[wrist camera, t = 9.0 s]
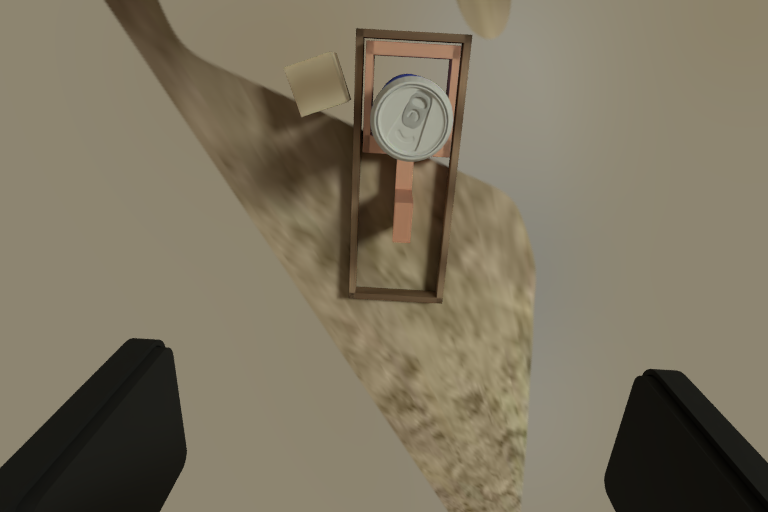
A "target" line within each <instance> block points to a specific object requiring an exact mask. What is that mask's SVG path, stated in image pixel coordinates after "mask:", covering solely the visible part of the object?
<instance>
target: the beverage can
mask: <svg viewBox="0 0 768 512" xmlns="http://www.w3.org/2000/svg"><path fill="white" fill-rule="evenodd" d="M370 124H371V130H372V134H373V136H374V139H375V141H376V142H377V144H378V145H379V147H380V148H381V149H382V150H383V151H384V152H385V153H387V154H388V155H389V156H391V157H393V158H395V159H398V160H401V161H405V162H416V161H421V160H425V159H427V158H429V157H431V156H433V155H434V154H436V153H437V152H438V151H439V150H440V149H441V148H442V147H443V146H444V144H445V143H446V141H447V140H448V138H449V136H450V133H451V130H452V126H453V111H452V106H451V103H450V101H449V98H448V97H447V95H446V93H445V92H444V91H443V90H442V89H441V87H439V86H438V85H437V84H436V83H434V82H433V81H431V80H429V79H426V78H424V77H420V76H417V75H413V74H402V75H399V76H396V77H394V78H392V79H391V80H390V81H389V82H388V83H386V85H385V86H384V87H383V89H382V90H381V91H380V93H379V94H378V95H377V97H376V99H375V101H374V103H373V106H372V109H371V114H370Z"/></svg>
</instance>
